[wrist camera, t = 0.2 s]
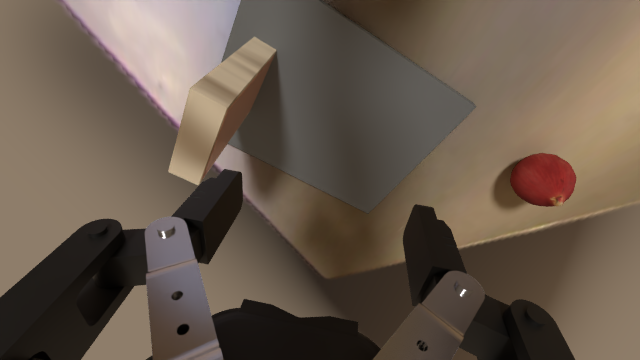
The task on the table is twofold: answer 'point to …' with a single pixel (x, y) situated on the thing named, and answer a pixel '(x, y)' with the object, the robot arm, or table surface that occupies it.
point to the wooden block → (218, 109)
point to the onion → (543, 180)
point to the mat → (339, 102)
